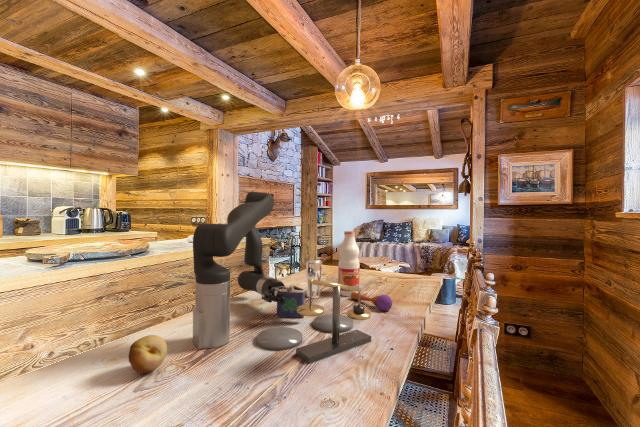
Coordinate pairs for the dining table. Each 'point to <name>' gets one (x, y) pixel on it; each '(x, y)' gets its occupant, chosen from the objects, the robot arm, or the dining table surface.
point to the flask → (290, 303)
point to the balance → (333, 326)
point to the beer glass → (313, 277)
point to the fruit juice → (348, 263)
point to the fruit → (147, 353)
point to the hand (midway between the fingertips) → (294, 299)
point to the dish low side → (325, 323)
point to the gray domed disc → (279, 338)
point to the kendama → (375, 300)
